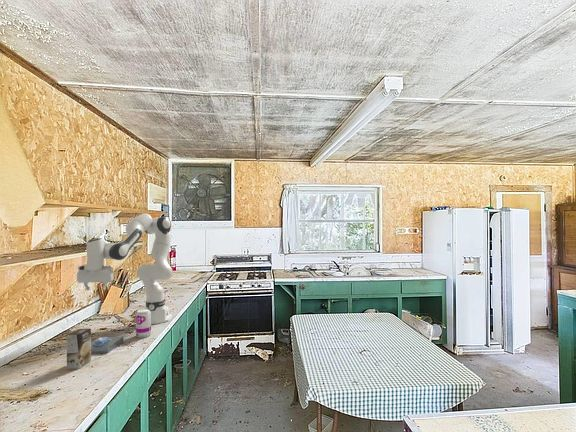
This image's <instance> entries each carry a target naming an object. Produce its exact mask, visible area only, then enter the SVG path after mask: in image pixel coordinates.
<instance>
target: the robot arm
mask: <svg viewBox="0 0 576 432" xmlns="http://www.w3.org/2000/svg"><path fill="white" fill-rule="evenodd" d="M171 229H172V222H171V219H170V218H169V217H167V216H158V217H157V216H156V217H152V216H151V215H150V214H149V213H141V214H139V215H137V216H136V217H134V218H133V219H131V220H130V221H129V222H128V223H127V224H126V226H125V232H126V234H127V237H125V239H123V240H122V241H121V242H114V243H113V242H108V241H107V240H104V239H103V238H102V237H101V238H100V237H96V238H91V239H89V240H88V241H87V242H86V247H85V248H86V250H85V251H86V252H87V254H86V257H87V258H86V263H85V264H82V265H80V266H78V267H77V272H76V281H77V283H78V284H81V283H82V284H83V286H84V287H85V291H90V290H91V288H90V286H89V285H88V284H89V283H102V284H103V286H102V287H101V290H102V291H105V290H107V289H106V288H107V286H108V283H112V282H113V281H114V280H115V278H114V277H115V276H114V268H113V267H112V266H111V265H105V260H104V259H106V260H116V261H122V260H124V259H125V258H126V257H127V256H128V254H129V252H130V250H131V249H132V248H133V247H134V245H136V243H137V242H138V241H139V240H140V239H141V238H142V236H143V234H144V233H146V234H148V235H149V234H150V235H153V234H154V235H155V236H154V237H155V238H154V241H153V244H152V248H151V252H150V255H151V257H152V258H153V259H154V264H153V263H146V264H145V263H144V264H141V265H139V266H138V267H137V270H136V276H137V278H138V279H139V280H141V282H142V284H143V286H144V288H145V297H146V301H145V308H144V309H149V310H150V312H151V325H156V324H157V325H158V324H161V323H167V322H169V321H170V320H171V319H172V317H173V313H170V309H169V307H168V306H166V301H167V299H166V298H164V297H165V295H164V294H165V293H164V290H165V289H164V288H163V286H161V285H160V283H159V282H163V281H169V280H170V279H171V277H172V276H173V272H174V271H173V268H172V266H171V265H170V263H169V262H168V260H169V259H168V258H169V251H170V247H171V242H172V235H171V233H170V231H171ZM86 252H85V253H86ZM158 281H159V282H158Z"/></svg>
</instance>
